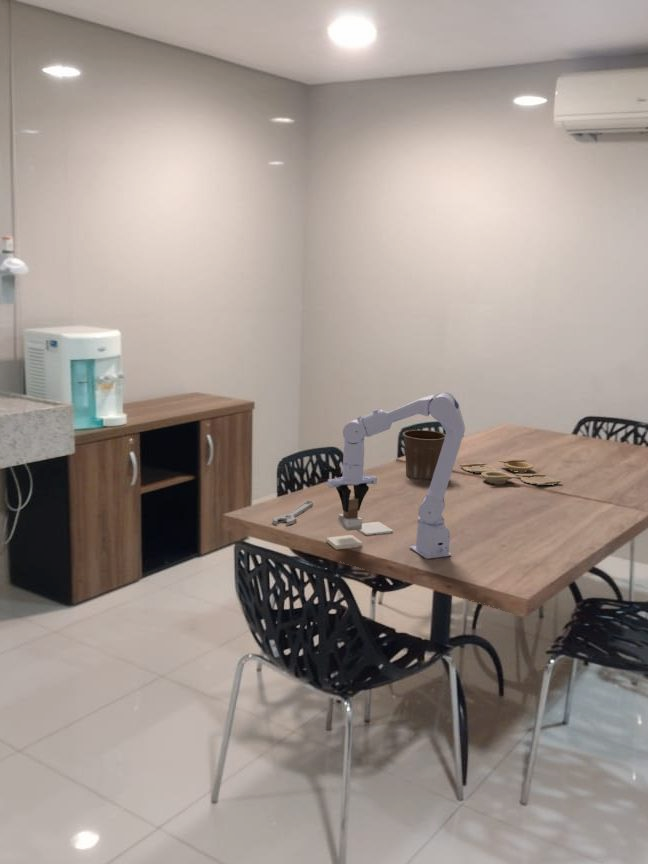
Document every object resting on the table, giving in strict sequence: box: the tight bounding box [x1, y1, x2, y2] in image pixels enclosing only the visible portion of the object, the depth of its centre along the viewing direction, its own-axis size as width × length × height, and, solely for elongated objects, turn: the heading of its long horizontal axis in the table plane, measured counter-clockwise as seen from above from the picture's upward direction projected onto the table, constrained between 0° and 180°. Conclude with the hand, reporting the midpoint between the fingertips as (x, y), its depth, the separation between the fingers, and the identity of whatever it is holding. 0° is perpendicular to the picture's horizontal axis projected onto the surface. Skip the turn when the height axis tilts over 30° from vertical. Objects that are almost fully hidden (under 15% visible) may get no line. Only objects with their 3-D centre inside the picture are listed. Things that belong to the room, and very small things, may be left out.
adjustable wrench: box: [272, 500, 314, 526], centre depth 261 cm, size 25×6×2 cm, turn 155°
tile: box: [325, 534, 363, 550], centre depth 235 cm, size 7×2×8 cm
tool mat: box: [358, 521, 394, 536], centre depth 249 cm, size 9×9×1 cm
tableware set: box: [459, 458, 562, 486], centre depth 320 cm, size 35×29×4 cm
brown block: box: [337, 495, 363, 532], centre depth 235 cm, size 6×4×8 cm
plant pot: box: [402, 429, 446, 481], centre depth 313 cm, size 16×16×16 cm
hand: (351, 510), depth 235 cm, fingers closed on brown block, 3 cm apart
